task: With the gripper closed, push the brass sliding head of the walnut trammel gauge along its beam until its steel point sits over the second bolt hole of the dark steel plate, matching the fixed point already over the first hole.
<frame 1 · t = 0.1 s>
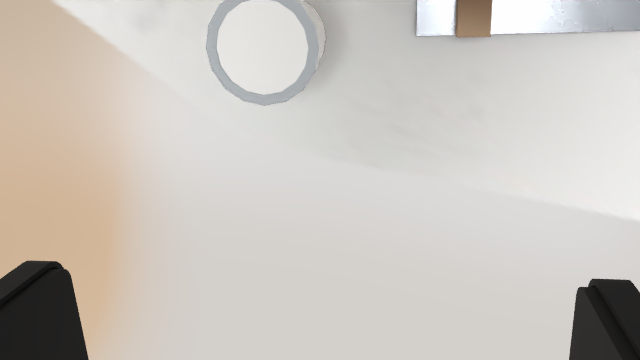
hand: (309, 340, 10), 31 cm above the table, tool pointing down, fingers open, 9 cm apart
light grey cup: (287, 37, 40), on the table
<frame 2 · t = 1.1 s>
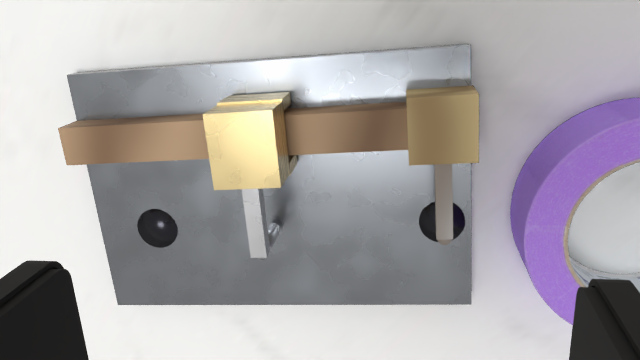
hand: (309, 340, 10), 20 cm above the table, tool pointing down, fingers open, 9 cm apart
plate: (276, 185, 32), on the table
sliding head: (258, 178, 28), point 3 cm above the table, slide at 3.0 cm
trammel beam: (269, 124, 30), resting on plate
masking tape: (624, 206, 30), on the table
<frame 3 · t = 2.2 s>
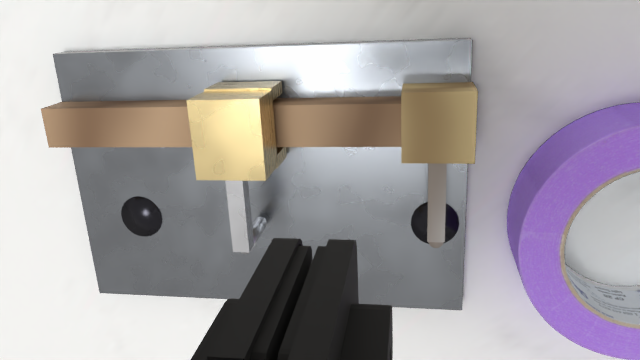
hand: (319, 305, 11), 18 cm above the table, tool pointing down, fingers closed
plate: (265, 177, 30), on the table
sliding head: (244, 170, 27), point 3 cm above the table, slide at 3.0 cm
trammel beam: (259, 114, 29), resting on plate
masking tape: (626, 215, 28), on the table
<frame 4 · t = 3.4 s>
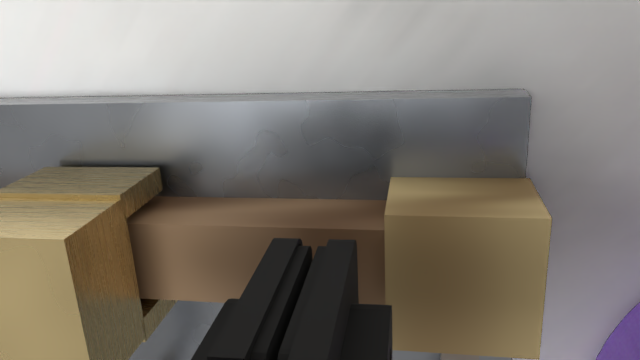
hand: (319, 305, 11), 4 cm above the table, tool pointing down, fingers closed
plate: (153, 320, 17), on the table
sliding head: (84, 342, 14), point 3 cm above the table, slide at 3.0 cm
trammel beam: (136, 215, 16), resting on plate
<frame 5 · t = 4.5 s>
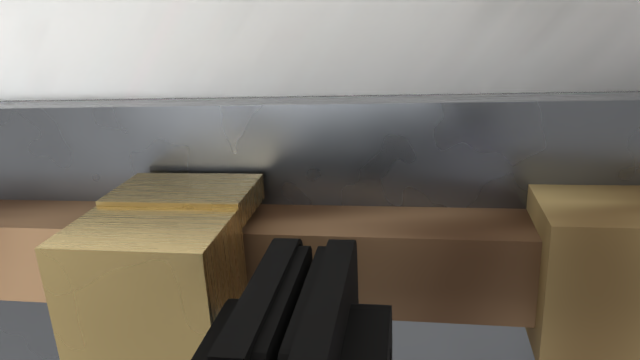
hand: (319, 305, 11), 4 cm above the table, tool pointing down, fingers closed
plate: (246, 333, 17), on the table
sliding head: (186, 359, 13), point 3 cm above the table, slide at 3.3 cm, touching gripper
trammel beam: (235, 224, 15), resting on plate
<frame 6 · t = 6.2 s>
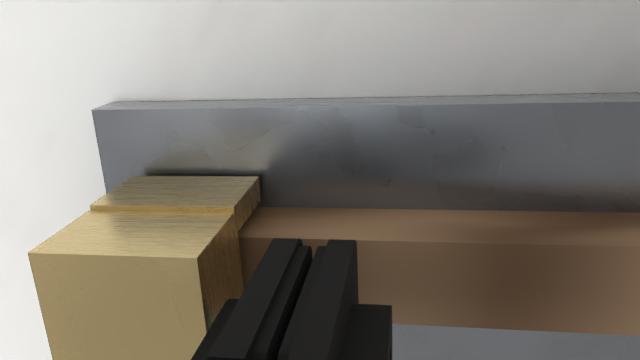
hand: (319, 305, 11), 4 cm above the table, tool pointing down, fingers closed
plate: (512, 351, 15), on the table
trammel beam: (521, 233, 14), resting on plate
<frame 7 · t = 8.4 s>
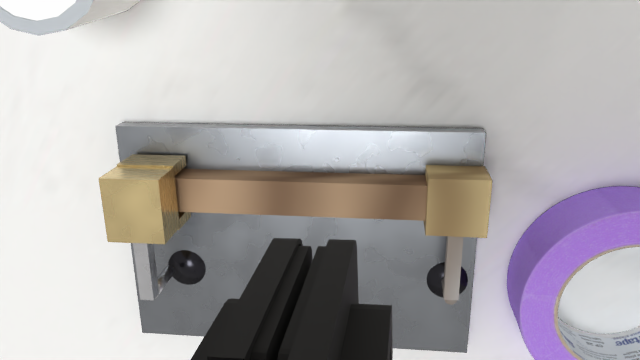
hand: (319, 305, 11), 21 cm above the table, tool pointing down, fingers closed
plate: (299, 236, 35), on the table
sliding head: (151, 230, 32), point 3 cm above the table, slide at 10.9 cm
trammel beam: (297, 182, 34), resting on plate
masking tape: (606, 275, 34), on the table
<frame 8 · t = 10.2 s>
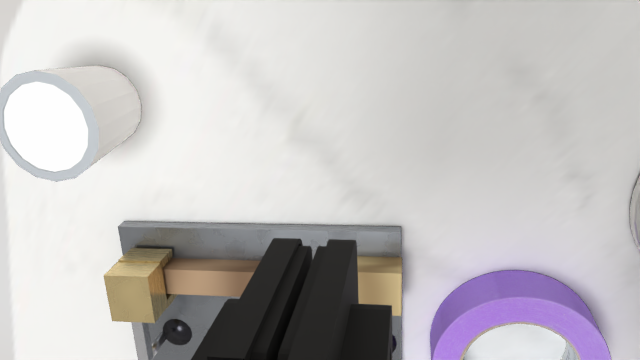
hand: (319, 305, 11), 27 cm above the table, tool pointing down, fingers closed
plate: (264, 307, 44), on the table
sliding head: (146, 308, 41), point 3 cm above the table, slide at 10.9 cm
trammel beam: (260, 266, 43), resting on plate
masking tape: (510, 337, 42), on the table
light grey cup: (106, 104, 41), on the table
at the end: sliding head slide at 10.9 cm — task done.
